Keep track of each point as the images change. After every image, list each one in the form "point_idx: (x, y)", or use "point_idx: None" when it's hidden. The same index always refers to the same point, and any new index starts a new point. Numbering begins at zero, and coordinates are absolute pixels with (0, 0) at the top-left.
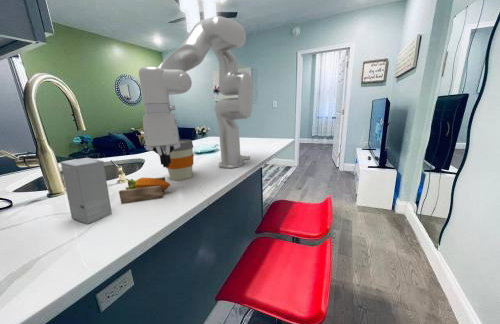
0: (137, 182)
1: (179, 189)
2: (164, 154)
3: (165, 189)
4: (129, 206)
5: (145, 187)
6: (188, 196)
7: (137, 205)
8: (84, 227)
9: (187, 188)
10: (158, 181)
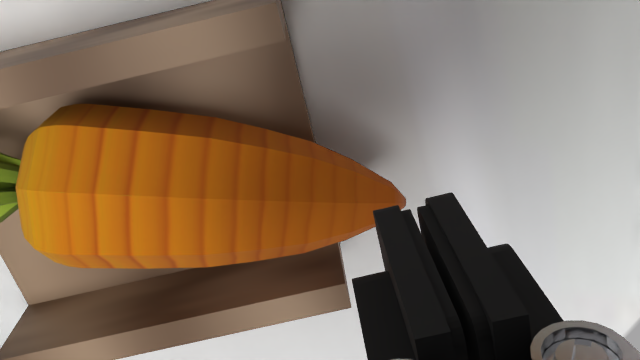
0: (64, 261)
1: (440, 71)
2: (458, 357)
3: (296, 67)
4: None
5: (207, 317)
6: (543, 236)
7: None
8: None
9: (518, 55)
10: (298, 245)
